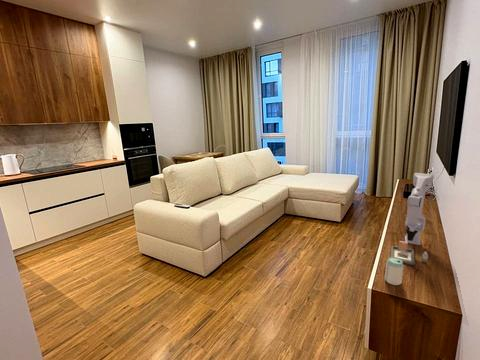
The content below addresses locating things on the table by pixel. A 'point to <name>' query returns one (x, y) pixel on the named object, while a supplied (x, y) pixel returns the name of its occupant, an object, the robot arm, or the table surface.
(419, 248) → the table surface
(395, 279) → the can
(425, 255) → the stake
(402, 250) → the square frame with handle
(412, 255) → the tray
